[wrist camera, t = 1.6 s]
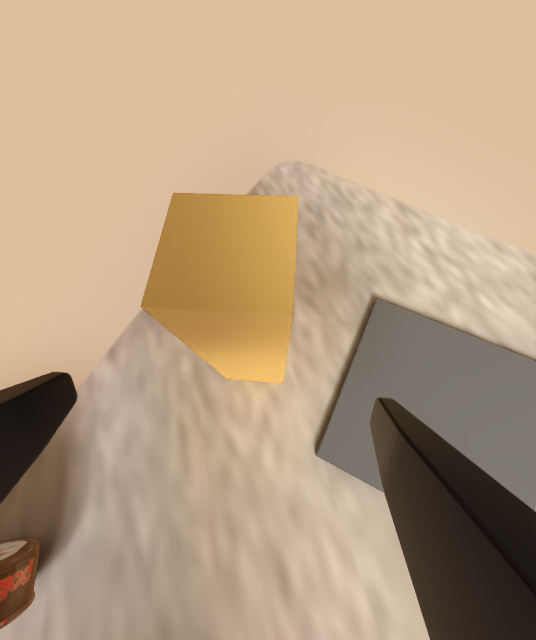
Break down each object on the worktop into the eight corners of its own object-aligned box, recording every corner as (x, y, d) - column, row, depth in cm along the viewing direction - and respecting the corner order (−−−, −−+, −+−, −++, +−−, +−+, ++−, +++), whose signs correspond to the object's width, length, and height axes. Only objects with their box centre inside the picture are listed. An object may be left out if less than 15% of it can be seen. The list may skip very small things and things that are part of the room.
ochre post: (282, 383, 18) (293, 315, 6) (227, 379, 18) (140, 306, 7) (286, 330, 20) (298, 197, 8) (234, 326, 20) (173, 193, 8)
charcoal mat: (542, 369, 18) (551, 367, 17) (518, 565, 14) (528, 571, 14) (374, 301, 20) (377, 298, 20) (315, 454, 16) (316, 456, 16)
